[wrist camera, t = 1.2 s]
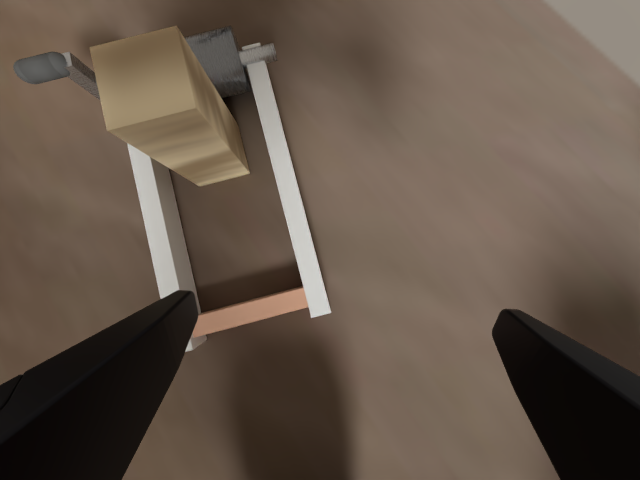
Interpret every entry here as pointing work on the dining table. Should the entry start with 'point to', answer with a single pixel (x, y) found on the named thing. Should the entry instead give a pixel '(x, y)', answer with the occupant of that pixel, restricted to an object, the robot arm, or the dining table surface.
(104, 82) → the tan wooden block
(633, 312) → the dining table surface
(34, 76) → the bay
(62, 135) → the dining table surface
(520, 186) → the dining table surface
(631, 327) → the dining table surface
